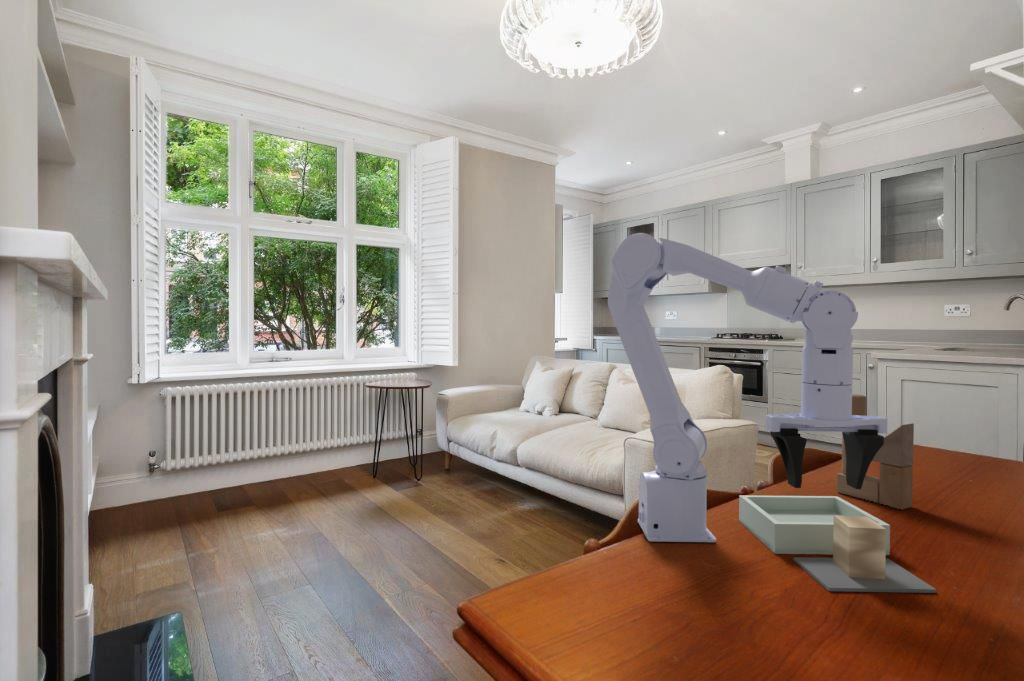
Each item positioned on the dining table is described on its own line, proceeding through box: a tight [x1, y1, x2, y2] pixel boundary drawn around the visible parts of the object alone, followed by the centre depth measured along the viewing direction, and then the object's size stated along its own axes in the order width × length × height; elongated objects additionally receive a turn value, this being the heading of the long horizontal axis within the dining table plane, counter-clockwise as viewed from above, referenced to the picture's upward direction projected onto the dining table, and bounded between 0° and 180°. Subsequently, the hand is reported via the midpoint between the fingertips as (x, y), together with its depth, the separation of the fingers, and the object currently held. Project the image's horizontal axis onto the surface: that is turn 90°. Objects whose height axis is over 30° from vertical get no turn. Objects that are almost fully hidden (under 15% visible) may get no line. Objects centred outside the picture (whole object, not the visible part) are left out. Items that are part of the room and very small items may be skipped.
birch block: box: [832, 515, 887, 579], centre depth 65 cm, size 4×4×6 cm
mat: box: [793, 556, 937, 594], centre depth 64 cm, size 12×8×1 cm, turn 88°
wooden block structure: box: [836, 393, 915, 511], centre depth 92 cm, size 4×11×18 cm, turn 27°
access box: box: [738, 494, 891, 556], centre depth 76 cm, size 15×12×4 cm
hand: (824, 486), depth 69 cm, fingers open, 7 cm apart
